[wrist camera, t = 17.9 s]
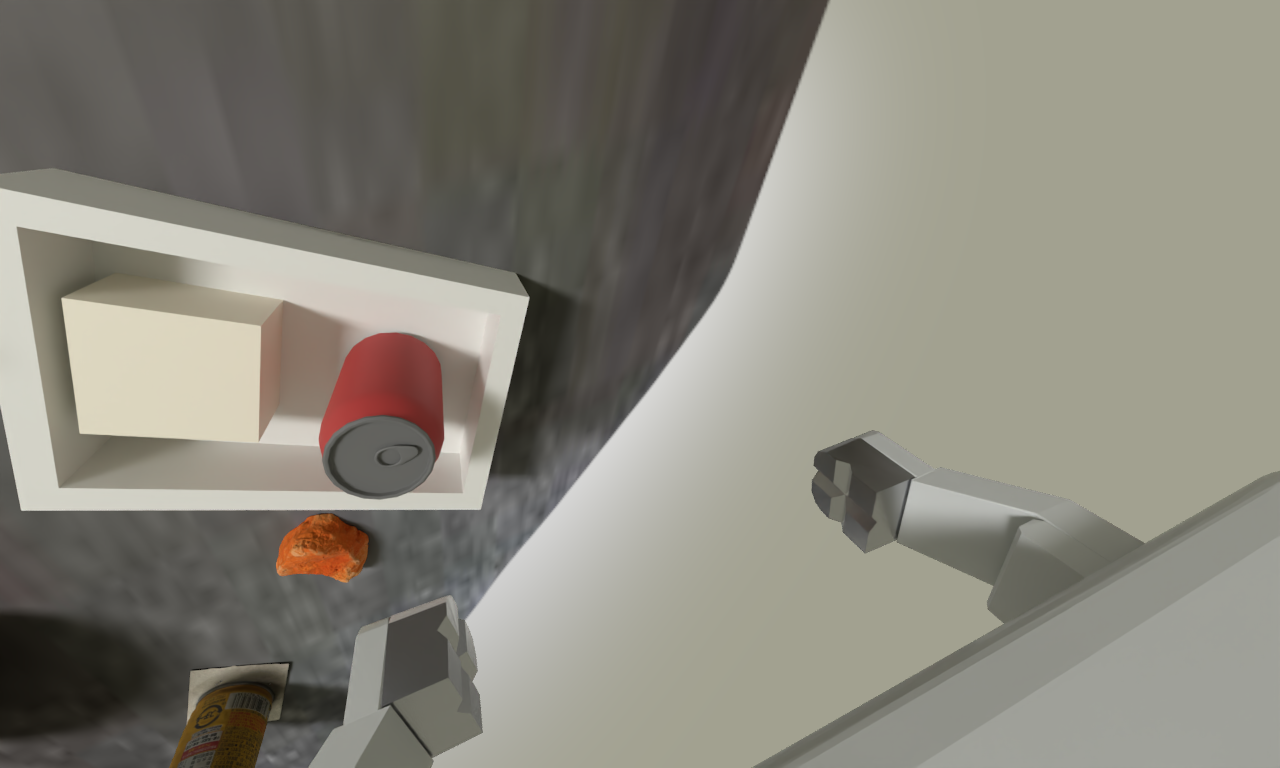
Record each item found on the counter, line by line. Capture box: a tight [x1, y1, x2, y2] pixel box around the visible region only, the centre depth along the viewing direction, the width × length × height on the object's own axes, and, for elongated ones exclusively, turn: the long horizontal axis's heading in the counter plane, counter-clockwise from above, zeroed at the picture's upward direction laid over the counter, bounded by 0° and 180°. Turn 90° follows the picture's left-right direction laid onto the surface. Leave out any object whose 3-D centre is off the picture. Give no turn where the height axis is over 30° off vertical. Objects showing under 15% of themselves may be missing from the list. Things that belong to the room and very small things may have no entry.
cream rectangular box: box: [61, 273, 283, 443], centre depth 29 cm, size 8×8×5 cm
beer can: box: [318, 332, 444, 500], centre depth 31 cm, size 7×7×12 cm
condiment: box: [169, 664, 289, 768], centre depth 41 cm, size 7×8×12 cm
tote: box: [0, 168, 530, 511], centre depth 32 cm, size 18×25×6 cm
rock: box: [276, 513, 369, 582], centre depth 40 cm, size 12×12×4 cm
